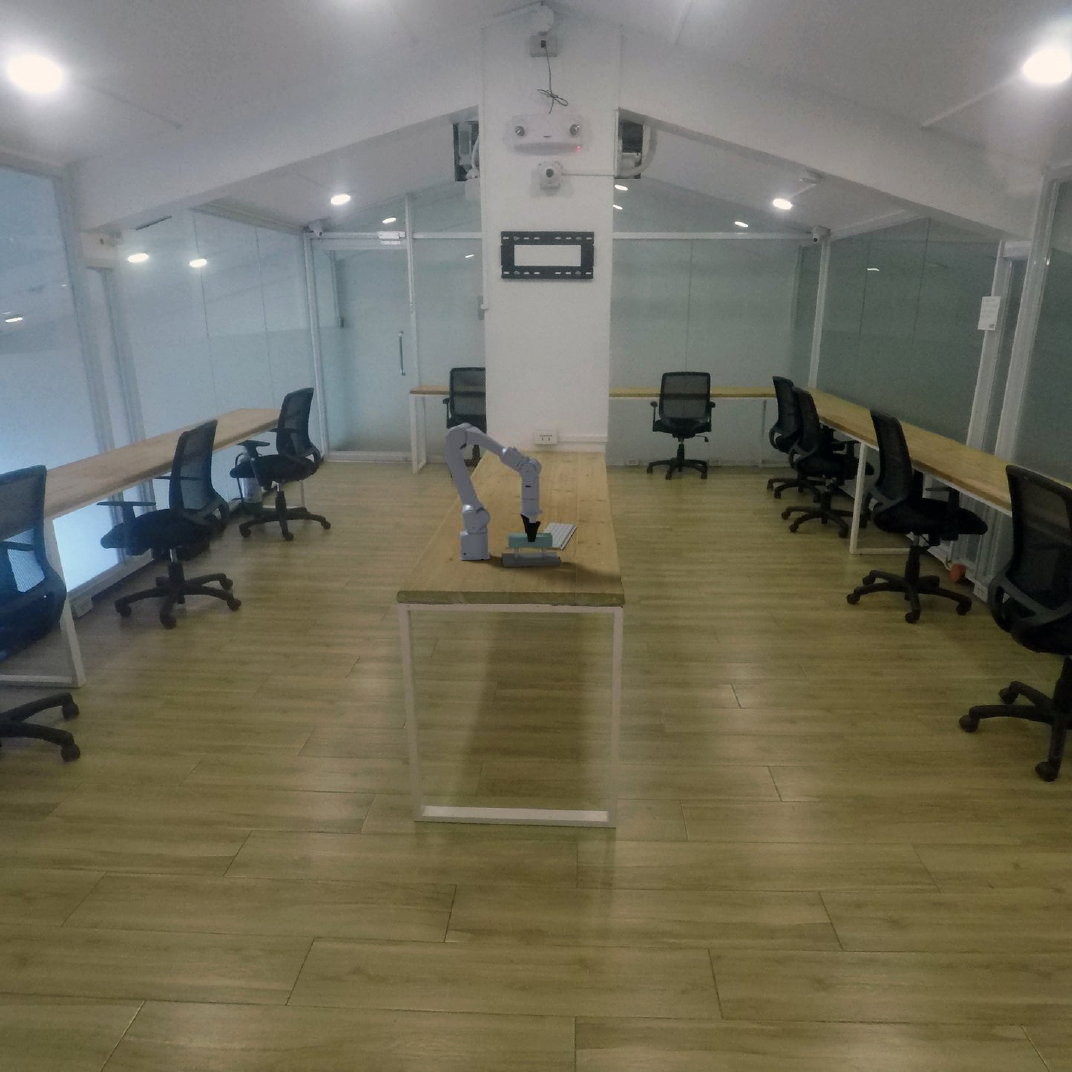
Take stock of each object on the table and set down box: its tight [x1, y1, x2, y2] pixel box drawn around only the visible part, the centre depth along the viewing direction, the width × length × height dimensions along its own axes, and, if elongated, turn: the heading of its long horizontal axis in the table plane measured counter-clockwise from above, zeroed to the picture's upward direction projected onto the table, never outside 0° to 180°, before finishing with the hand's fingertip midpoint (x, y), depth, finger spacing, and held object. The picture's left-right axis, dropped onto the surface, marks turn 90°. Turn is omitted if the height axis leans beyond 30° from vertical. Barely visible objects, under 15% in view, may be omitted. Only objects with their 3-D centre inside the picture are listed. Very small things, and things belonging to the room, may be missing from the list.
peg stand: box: [501, 547, 560, 568], centre depth 245 cm, size 18×10×6 cm, turn 96°
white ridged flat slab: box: [535, 522, 578, 551], centre depth 273 cm, size 31×3×12 cm
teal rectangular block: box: [507, 532, 553, 549], centre depth 244 cm, size 14×4×4 cm, turn 96°
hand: (530, 538), depth 243 cm, fingers open, 7 cm apart
